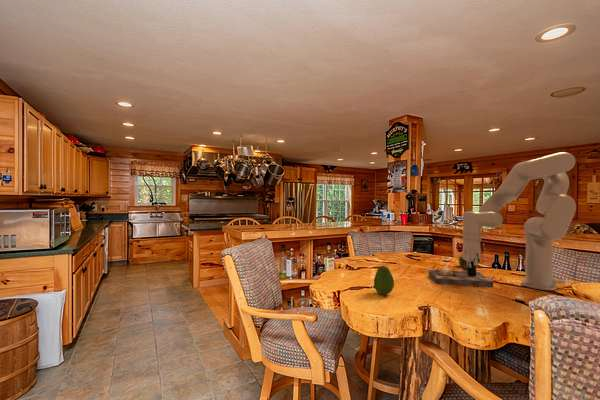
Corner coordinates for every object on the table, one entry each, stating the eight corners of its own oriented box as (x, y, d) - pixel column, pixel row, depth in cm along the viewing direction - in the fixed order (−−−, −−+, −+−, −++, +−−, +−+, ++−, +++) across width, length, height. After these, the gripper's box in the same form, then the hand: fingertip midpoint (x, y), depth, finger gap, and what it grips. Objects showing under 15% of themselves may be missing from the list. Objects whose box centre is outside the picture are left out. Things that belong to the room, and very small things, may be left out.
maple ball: (435, 275, 145) (447, 280, 144) (438, 279, 139) (451, 284, 138) (440, 264, 144) (452, 269, 143) (444, 267, 138) (456, 272, 137)
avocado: (373, 296, 117) (373, 267, 117) (373, 290, 124) (374, 262, 124) (394, 298, 115) (394, 268, 115) (393, 292, 122) (393, 264, 122)
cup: (477, 274, 152) (477, 259, 152) (463, 274, 152) (463, 259, 152) (469, 270, 160) (469, 256, 159) (455, 270, 160) (456, 256, 160)
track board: (479, 278, 145) (479, 271, 145) (493, 287, 131) (493, 279, 131) (428, 275, 149) (428, 269, 149) (436, 283, 135) (436, 276, 135)
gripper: (457, 235, 146) (457, 271, 146) (469, 239, 131) (469, 280, 131) (473, 235, 144) (473, 272, 145) (488, 239, 130) (487, 280, 130)
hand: (471, 275), depth 138 cm, fingers closed
